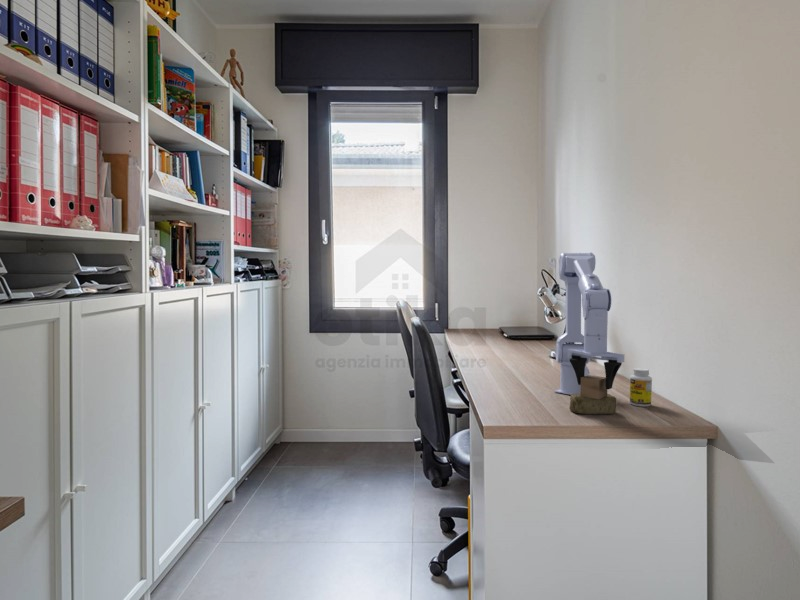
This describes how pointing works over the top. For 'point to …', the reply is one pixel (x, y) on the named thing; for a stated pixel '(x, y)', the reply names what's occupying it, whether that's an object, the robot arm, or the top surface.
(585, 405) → the stone block
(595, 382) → the walnut cube
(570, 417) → the top surface
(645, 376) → the supplement bottle
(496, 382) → the top surface
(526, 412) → the top surface
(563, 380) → the robot arm
